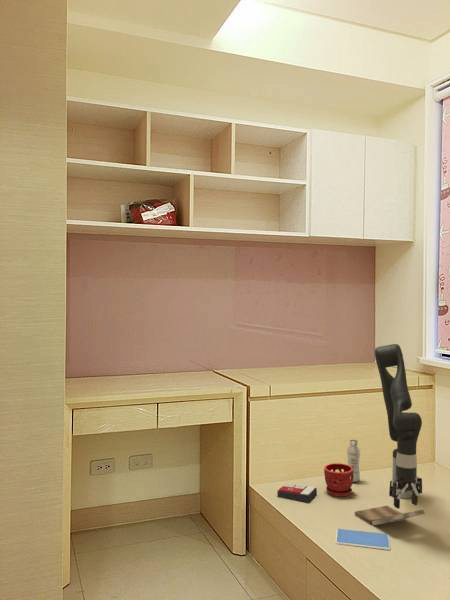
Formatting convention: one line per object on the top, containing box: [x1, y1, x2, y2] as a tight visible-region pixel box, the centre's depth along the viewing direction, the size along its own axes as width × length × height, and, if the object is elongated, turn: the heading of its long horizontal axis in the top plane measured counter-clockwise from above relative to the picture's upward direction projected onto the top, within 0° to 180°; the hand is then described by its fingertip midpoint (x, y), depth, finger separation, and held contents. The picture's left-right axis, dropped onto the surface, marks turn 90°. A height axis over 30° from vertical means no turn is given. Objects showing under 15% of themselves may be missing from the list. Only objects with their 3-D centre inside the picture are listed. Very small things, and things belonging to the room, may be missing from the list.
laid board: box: [354, 505, 403, 526], centre depth 220 cm, size 17×10×2 cm, turn 114°
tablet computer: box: [335, 528, 391, 551], centre depth 199 cm, size 19×13×1 cm, turn 76°
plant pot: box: [323, 462, 354, 497], centre depth 245 cm, size 13×13×12 cm
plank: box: [372, 509, 425, 526], centre depth 210 cm, size 16×12×2 cm
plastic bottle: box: [346, 439, 361, 483], centre depth 261 cm, size 6×7×20 cm
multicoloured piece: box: [277, 482, 318, 504], centre depth 241 cm, size 11×4×15 cm
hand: (405, 506), depth 206 cm, fingers open, 8 cm apart
